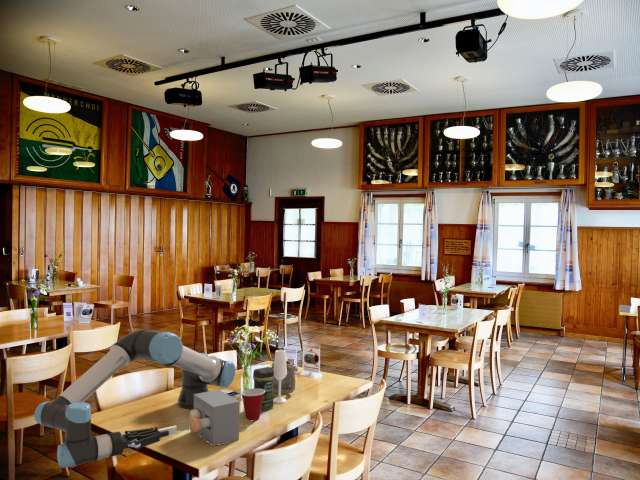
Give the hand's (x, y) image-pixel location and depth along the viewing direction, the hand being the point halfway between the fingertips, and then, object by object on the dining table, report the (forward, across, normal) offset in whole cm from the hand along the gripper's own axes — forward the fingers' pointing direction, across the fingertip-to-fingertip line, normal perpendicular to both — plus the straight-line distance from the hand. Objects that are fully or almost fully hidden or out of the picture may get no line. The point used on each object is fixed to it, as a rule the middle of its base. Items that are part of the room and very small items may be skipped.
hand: (176, 429), depth 184 cm
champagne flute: (+62, -25, -8) cm, 67 cm away
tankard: (+72, -34, -8) cm, 80 cm away
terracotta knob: (+12, 0, -3) cm, 12 cm away
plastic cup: (+39, -12, -8) cm, 42 cm away
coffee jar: (+50, -20, -8) cm, 54 cm away
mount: (+18, -4, -8) cm, 20 cm away
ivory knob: (+16, -8, -3) cm, 18 cm away
